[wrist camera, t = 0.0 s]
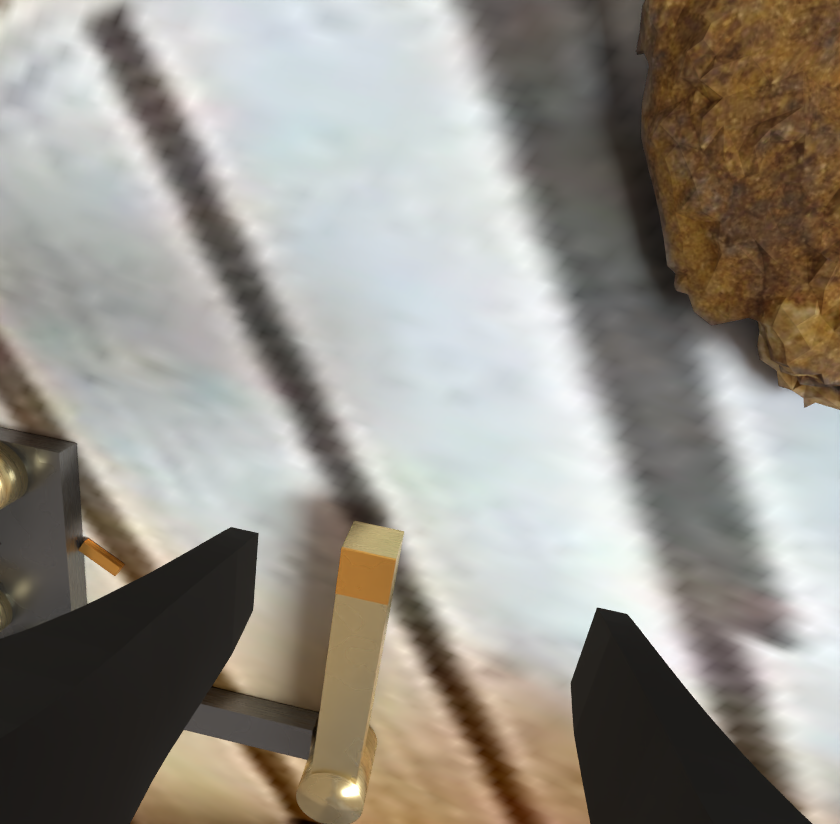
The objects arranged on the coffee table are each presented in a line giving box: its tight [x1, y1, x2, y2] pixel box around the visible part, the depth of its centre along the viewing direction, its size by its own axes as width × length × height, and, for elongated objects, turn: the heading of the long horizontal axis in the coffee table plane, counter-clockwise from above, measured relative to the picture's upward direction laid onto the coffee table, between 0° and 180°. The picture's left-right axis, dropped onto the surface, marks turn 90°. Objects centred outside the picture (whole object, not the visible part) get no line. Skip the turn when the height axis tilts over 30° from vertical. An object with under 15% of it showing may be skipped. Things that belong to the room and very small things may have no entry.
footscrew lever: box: [296, 521, 404, 824], centre depth 23 cm, size 14×3×3 cm, turn 171°
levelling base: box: [0, 427, 319, 760], centre depth 23 cm, size 16×18×6 cm
